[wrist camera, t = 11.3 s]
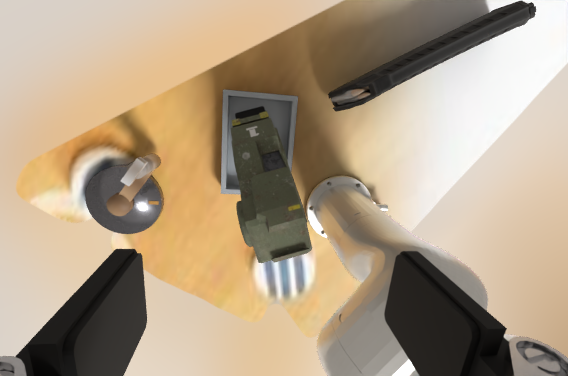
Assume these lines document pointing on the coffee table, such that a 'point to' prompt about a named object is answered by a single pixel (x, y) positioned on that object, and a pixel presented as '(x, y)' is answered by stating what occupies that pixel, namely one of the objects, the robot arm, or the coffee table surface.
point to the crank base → (145, 201)
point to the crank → (132, 184)
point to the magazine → (431, 55)
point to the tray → (278, 110)
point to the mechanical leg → (267, 190)
